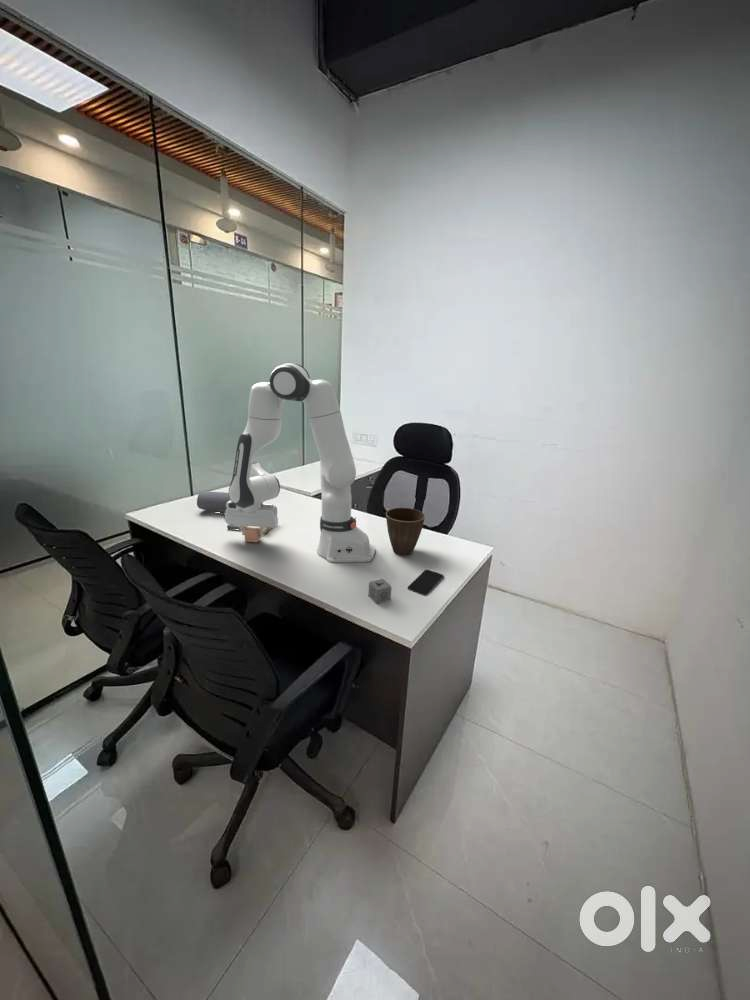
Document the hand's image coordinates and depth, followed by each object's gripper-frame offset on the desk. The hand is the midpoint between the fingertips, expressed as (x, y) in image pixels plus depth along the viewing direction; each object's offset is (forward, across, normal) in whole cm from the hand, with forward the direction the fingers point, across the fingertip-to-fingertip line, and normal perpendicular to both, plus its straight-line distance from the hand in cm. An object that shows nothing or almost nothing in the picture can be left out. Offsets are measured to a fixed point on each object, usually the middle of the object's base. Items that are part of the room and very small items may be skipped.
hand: (252, 535), depth 145 cm
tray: (+2, +10, -13) cm, 17 cm away
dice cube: (+3, -53, +31) cm, 62 cm away
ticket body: (+2, 0, -13) cm, 13 cm away
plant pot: (+3, -60, -2) cm, 60 cm away
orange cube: (+2, 0, 0) cm, 2 cm away
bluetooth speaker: (+3, +24, -27) cm, 36 cm away
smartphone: (+3, -68, +20) cm, 71 cm away
